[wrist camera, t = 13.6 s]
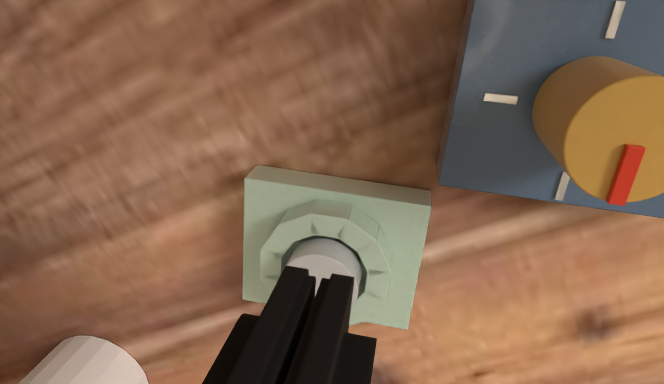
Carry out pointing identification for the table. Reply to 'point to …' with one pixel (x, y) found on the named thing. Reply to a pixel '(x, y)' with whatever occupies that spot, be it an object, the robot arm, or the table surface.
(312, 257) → the grey push button
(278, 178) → the green button base
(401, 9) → the table surface
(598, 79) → the valve knob
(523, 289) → the table surface
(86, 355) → the toilet paper
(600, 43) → the valve panel
